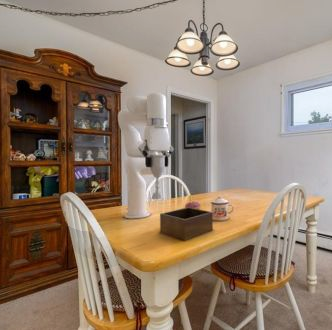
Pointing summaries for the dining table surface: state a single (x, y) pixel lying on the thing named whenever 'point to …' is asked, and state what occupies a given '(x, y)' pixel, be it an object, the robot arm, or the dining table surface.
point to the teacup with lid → (220, 209)
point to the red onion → (193, 204)
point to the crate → (186, 223)
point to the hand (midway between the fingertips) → (157, 166)
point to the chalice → (157, 172)
